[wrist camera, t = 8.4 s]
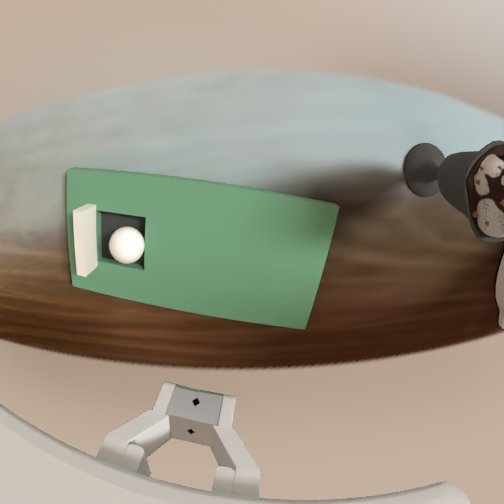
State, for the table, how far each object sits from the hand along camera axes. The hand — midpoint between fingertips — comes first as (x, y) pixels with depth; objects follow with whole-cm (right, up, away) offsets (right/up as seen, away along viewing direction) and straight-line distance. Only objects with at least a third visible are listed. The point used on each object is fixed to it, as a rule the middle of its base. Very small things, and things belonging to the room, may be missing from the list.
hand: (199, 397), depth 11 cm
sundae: (+18, +13, +12) cm, 25 cm away
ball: (-9, +7, +13) cm, 17 cm away
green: (-4, +6, +15) cm, 17 cm away
